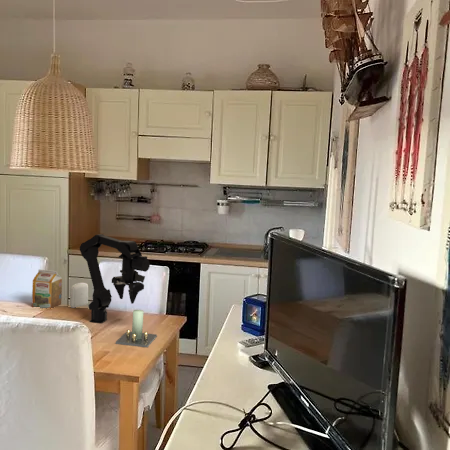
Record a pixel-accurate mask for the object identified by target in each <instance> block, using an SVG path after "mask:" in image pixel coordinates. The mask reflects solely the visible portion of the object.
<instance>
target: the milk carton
mask: <svg viewBox="0 0 450 450" xmlns="http://www.w3.org/2000/svg"><path fill="white" fill-rule="evenodd" d="M62 287H63V277H61V275H60V274H58V271H57V270H49V269H48V270H47V269H38V272H37V273H36V274H35V276H34V278H33V279H32V292H31V293H32V294H31V301H32V302H31V307H32V308H34V307H40V308H39V309H43V308H50V309H49V310H52V309H51V308H53V309H54V307H55V308H56V307H59V306H61V305H62V298H63V297H62V295H63V294H62V293H63V292H62V291H63V288H62Z"/></svg>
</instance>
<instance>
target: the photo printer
mask: <svg viewBox="0 0 450 450" xmlns="http://www.w3.org/2000/svg"><path fill="white" fill-rule="evenodd" d="M69 289H70V290H69V293H70V295H69V307H70V308H73V309H75V308H78V307H81V306H86V305H89V304H88V303H89V284H88V283H87V282H76V283H74V284H72V285H71V286H70V288H69Z"/></svg>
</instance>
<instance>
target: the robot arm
mask: <svg viewBox="0 0 450 450" xmlns="http://www.w3.org/2000/svg"><path fill="white" fill-rule="evenodd" d="M102 246H107V247H110V248H113V249H116V250H117V251H118V252H119V253H120V255H118V258H119V259H122V260H121V261H122V263H121V265H122V266H121V269H120V270H119V273H121V275H118V276H113V277H112V278H111V283H112V284H113V287H114V288H115V291H116V292H117V295H118V297H119V299H120V300H123V298H124V290H125V287H126V286H128V289H127V291H128V295H129V300H130V304H134V303H135V301H136V299H137V296H138V294H139V293H140V292H141V291H144V289H145V284H144V281H145V278H146V276H145V275H141V274H139V271H140V272H148V271H149V269H150V267H151V263H150V260H149V259H148V256H144V255H142V252H141V250H140V249H139V247H138V244H137V242H136V241H135V240H120V239H117V238H115V237H112V236H111V237H110V236H107V235H105V234H104V233H103V234H101V233H100V234H95V235H93V237H91V238H89V239H87V240H86V241H85V242H81V243H80V246H79V252H80V254H81V256H82V258H83V259H84V260H85V261H86V263H87V267H88V271H89V275H90V279H91V283H92V288H93V293H92V301H91V302H90V303H89V304H87V305H88V309H89V311H91V312H90V313H91V315H90V320H89V323H97V324H98V323H99V324H103V323H105V322H106V321H107V320H108V311H107V308H109V307H110V305H111V303H112V298H113V296H112V295H111V294H112V293H111V290H110V288H108V289H107V288H106V287H105V285H104V280H103V276H102V273H101V269H100V266H99V260H98V257H99V248H101V247H102Z"/></svg>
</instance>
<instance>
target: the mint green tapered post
mask: <svg viewBox="0 0 450 450" xmlns="http://www.w3.org/2000/svg"><path fill="white" fill-rule="evenodd" d="M144 313H145V312H144V310H142V309H134V310H132V325H131V332H132V334H136V340H139V339H142V333H143V328H144Z"/></svg>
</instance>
